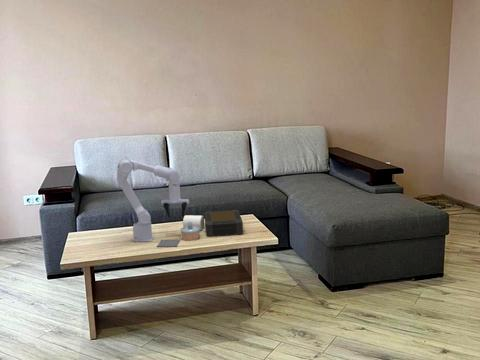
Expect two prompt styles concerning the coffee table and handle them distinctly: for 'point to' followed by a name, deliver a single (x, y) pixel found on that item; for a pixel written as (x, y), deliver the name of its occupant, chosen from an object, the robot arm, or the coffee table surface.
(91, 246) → the coffee table surface
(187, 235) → the bowl
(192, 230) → the lid
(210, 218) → the cash box
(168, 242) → the mat
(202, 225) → the mug
